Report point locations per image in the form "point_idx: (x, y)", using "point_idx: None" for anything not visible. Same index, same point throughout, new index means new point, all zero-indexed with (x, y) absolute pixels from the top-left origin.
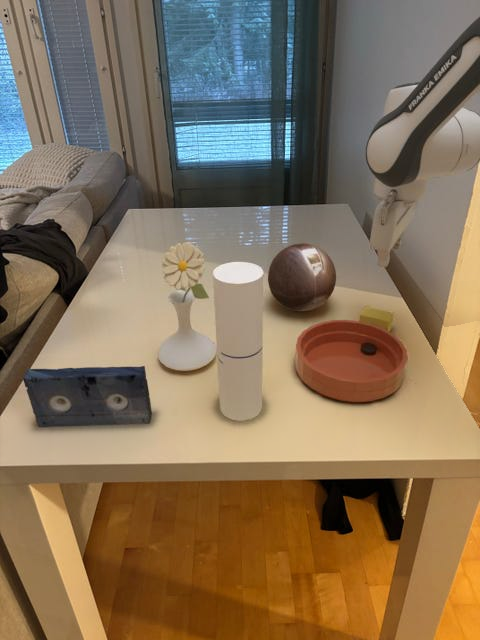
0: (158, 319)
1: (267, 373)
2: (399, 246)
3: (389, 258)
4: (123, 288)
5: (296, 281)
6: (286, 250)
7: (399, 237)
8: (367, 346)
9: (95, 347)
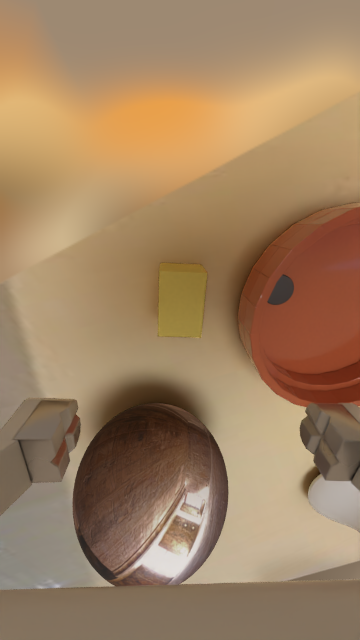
0: (263, 531)
1: None
2: (59, 405)
3: (341, 428)
4: (208, 579)
5: (227, 497)
6: None
7: (5, 463)
8: (277, 293)
9: (333, 543)
